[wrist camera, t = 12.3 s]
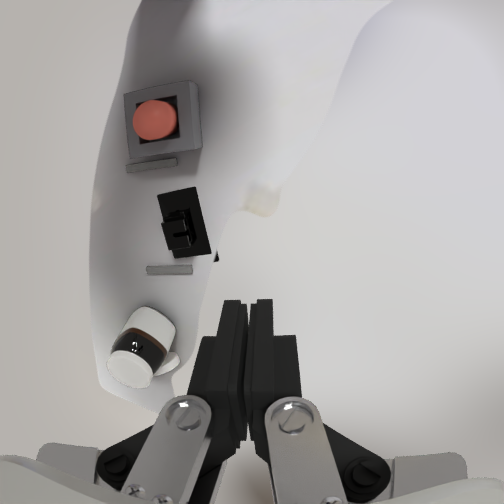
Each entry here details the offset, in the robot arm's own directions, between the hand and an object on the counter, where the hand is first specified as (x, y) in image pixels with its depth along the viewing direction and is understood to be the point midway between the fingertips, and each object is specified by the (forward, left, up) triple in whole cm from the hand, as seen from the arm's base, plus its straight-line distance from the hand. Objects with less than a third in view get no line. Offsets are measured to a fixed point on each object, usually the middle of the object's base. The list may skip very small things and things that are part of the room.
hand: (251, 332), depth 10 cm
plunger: (-9, -11, -25) cm, 29 cm away
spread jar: (+24, -19, -27) cm, 41 cm away
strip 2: (+12, -14, -27) cm, 33 cm away
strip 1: (-4, -14, -27) cm, 31 cm away
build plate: (+5, -11, -28) cm, 30 cm away
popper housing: (-9, -11, -27) cm, 31 cm away
